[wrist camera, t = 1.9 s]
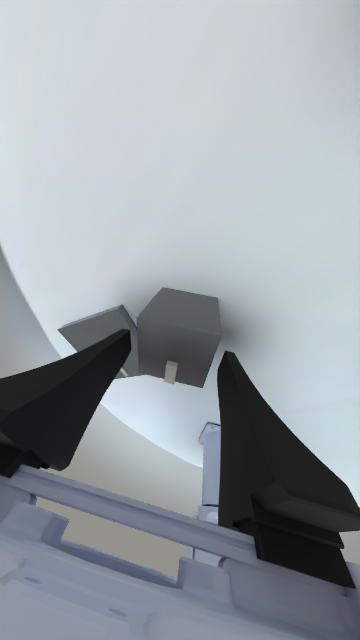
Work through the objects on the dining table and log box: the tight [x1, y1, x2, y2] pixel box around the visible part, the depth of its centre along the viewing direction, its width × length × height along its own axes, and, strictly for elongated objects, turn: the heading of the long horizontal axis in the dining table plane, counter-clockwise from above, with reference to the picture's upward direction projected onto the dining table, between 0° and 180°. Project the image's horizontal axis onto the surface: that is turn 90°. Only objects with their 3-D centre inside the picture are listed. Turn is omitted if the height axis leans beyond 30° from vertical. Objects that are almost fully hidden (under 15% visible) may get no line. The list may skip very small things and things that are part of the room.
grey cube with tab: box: [137, 288, 221, 388], centre depth 13 cm, size 5×5×6 cm
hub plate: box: [58, 305, 147, 379], centre depth 18 cm, size 10×10×4 cm
